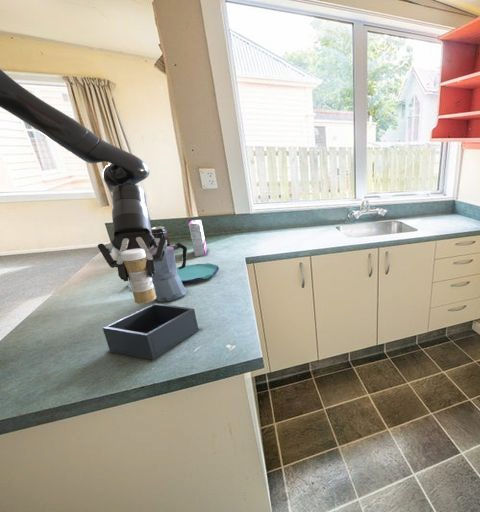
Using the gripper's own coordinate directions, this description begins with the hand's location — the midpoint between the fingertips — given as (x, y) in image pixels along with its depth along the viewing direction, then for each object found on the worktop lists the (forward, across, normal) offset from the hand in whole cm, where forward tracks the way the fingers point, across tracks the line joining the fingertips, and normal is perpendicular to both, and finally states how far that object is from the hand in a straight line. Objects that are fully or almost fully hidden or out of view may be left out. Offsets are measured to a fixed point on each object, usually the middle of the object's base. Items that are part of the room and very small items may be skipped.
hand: (138, 277), depth 72 cm
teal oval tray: (-22, +5, +50) cm, 55 cm away
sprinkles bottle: (+4, 0, +6) cm, 8 cm away
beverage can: (-58, -2, +86) cm, 103 cm away
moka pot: (-9, +3, +36) cm, 37 cm away
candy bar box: (-46, +14, +73) cm, 87 cm away
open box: (+12, 0, +14) cm, 19 cm away
